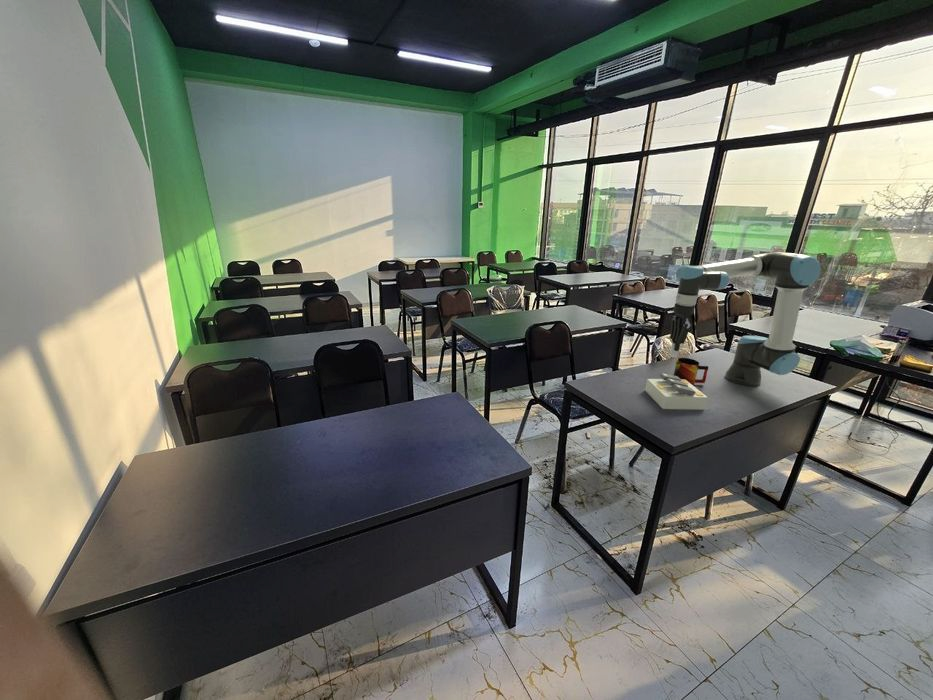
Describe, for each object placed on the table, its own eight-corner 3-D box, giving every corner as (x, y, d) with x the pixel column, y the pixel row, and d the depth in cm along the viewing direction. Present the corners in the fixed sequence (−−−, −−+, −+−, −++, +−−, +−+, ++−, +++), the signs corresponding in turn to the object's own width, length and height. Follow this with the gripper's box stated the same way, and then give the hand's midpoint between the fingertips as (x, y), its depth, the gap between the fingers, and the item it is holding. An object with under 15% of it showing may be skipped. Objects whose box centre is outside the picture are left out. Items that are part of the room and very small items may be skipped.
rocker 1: (675, 379, 185) (677, 375, 184) (679, 383, 181) (681, 379, 180) (659, 376, 184) (661, 372, 183) (663, 379, 180) (665, 376, 180)
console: (682, 390, 188) (685, 378, 185) (704, 409, 171) (707, 395, 169) (645, 390, 188) (647, 377, 185) (663, 409, 171) (666, 395, 168)
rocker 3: (689, 391, 173) (690, 387, 173) (693, 395, 170) (696, 391, 169) (672, 387, 173) (674, 383, 172) (676, 391, 169) (678, 387, 168)
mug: (704, 385, 194) (710, 362, 190) (683, 389, 190) (689, 366, 185) (688, 377, 203) (693, 355, 199) (667, 381, 198) (672, 359, 194)
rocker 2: (681, 385, 179) (683, 381, 178) (686, 389, 175) (688, 385, 175) (665, 381, 178) (667, 377, 178) (670, 385, 175) (671, 381, 174)
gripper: (668, 300, 170) (657, 351, 178) (684, 307, 158) (671, 362, 166) (685, 300, 170) (674, 351, 178) (702, 308, 158) (689, 362, 166)
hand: (673, 356), depth 172 cm, fingers closed
